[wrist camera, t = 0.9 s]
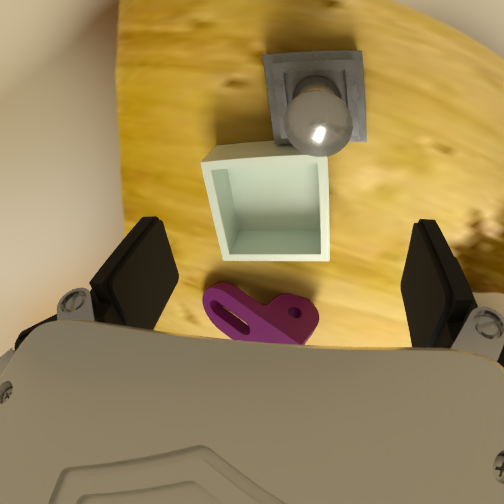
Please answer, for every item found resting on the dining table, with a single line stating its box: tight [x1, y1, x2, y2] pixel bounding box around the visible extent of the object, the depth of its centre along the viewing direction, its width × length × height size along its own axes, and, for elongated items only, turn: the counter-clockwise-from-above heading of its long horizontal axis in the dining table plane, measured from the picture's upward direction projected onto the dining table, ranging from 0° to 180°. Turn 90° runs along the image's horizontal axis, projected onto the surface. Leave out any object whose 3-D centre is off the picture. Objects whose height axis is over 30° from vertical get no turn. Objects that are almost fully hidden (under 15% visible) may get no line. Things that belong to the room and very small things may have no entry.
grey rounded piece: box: [284, 75, 353, 157], centre depth 23 cm, size 5×5×13 cm
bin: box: [200, 140, 330, 261], centre depth 37 cm, size 13×13×6 cm
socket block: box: [262, 50, 367, 144], centre depth 29 cm, size 10×10×4 cm
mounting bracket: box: [203, 282, 319, 345], centre depth 51 cm, size 10×8×18 cm
